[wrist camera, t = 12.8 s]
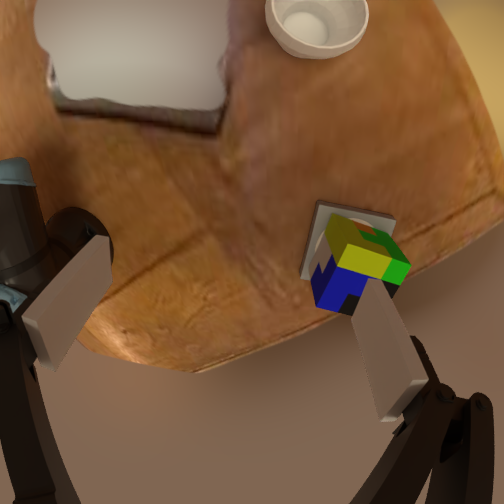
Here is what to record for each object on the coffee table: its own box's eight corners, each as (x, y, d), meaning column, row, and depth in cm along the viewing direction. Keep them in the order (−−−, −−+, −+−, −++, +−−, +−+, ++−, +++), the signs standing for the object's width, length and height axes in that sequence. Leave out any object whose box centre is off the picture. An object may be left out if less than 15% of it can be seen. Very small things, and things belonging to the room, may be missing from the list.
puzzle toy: (308, 268, 50) (315, 306, 41) (332, 213, 45) (347, 243, 36) (361, 283, 51) (377, 321, 42) (387, 233, 46) (411, 265, 37)
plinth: (299, 272, 53) (300, 279, 51) (317, 200, 47) (319, 205, 45) (368, 282, 53) (371, 289, 51) (392, 215, 47) (397, 221, 45)
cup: (258, 7, 33) (254, -32, 20) (332, -1, 32) (360, -38, 18) (273, 72, 38) (277, 60, 25) (347, 64, 37) (384, 52, 23)
